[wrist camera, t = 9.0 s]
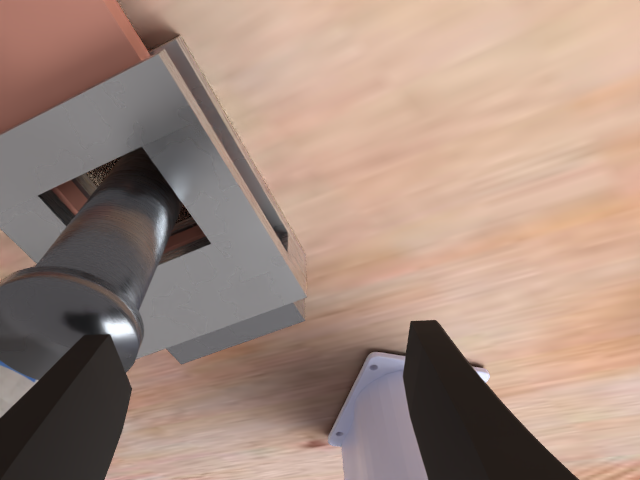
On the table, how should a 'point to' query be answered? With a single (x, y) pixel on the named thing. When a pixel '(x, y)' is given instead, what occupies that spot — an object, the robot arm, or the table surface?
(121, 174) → the pin
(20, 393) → the supplement tub
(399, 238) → the table surface
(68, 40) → the link arm
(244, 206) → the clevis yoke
